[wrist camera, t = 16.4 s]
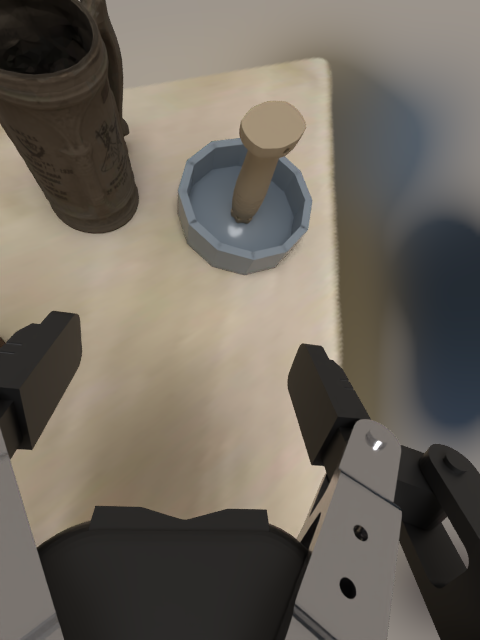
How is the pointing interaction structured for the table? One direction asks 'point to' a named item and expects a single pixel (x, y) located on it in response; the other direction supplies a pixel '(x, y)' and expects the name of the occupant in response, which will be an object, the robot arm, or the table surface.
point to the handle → (263, 152)
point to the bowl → (216, 202)
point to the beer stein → (68, 108)
